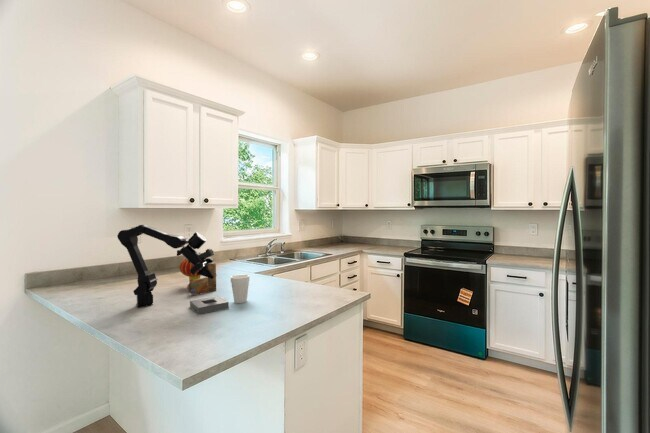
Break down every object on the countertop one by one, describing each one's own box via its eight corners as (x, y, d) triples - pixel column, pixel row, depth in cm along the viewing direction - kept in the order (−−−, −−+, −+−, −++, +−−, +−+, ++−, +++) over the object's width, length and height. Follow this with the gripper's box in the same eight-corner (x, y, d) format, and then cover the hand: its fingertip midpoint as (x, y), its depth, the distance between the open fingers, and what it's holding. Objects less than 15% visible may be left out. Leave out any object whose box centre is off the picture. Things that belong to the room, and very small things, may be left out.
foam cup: (244, 304, 157) (244, 278, 156) (227, 303, 159) (227, 278, 158) (252, 299, 166) (252, 274, 166) (236, 298, 168) (236, 274, 168)
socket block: (198, 314, 143) (198, 307, 143) (190, 306, 154) (189, 300, 154) (228, 308, 151) (228, 301, 151) (218, 301, 162) (218, 295, 162)
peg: (208, 292, 155) (207, 264, 155) (207, 290, 159) (207, 263, 158) (216, 291, 157) (216, 263, 157) (215, 289, 161) (215, 262, 160)
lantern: (215, 284, 198) (214, 237, 197) (191, 291, 184) (189, 239, 183) (198, 281, 207) (197, 236, 206) (173, 287, 193) (172, 238, 192)
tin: (189, 296, 172) (189, 281, 172) (186, 295, 174) (186, 280, 174) (214, 290, 184) (213, 276, 184) (211, 289, 186) (210, 275, 186)
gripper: (196, 246, 148) (219, 269, 148) (209, 242, 166) (231, 262, 167) (179, 263, 148) (203, 286, 148) (195, 257, 167) (216, 277, 167)
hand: (214, 277), depth 158 cm, fingers closed on peg, 4 cm apart
